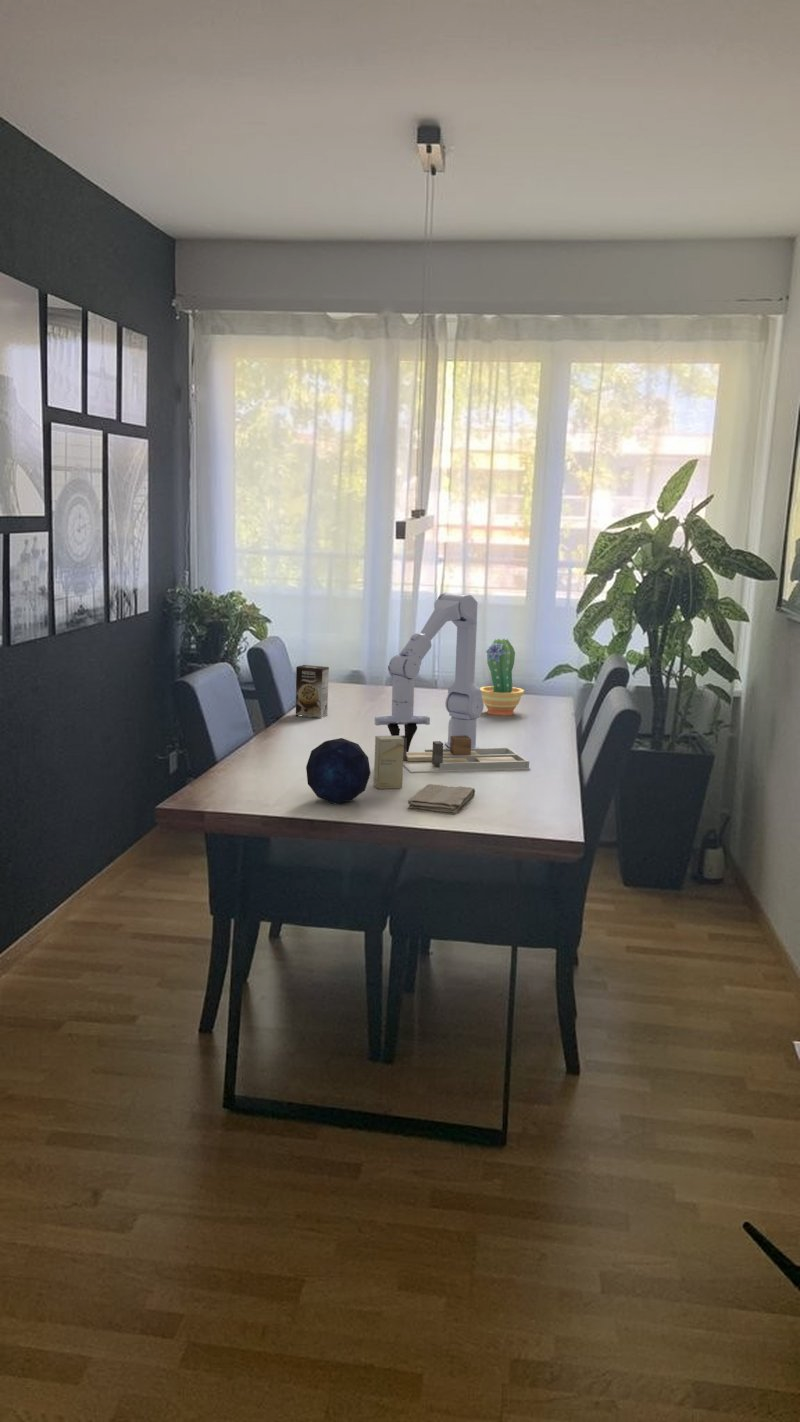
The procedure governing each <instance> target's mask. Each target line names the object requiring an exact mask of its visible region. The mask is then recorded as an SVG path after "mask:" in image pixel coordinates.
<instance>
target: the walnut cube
mask: <svg viewBox="0 0 800 1422" xmlns="http://www.w3.org/2000/svg"><path fill="white" fill-rule="evenodd" d="M449 749H450V753H452V754H453V755H471V738H469V737H468V736H467V735H464V736H451V737H450V748H449Z"/></svg>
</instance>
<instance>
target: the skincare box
mask: <svg viewBox="0 0 800 1422" xmlns="http://www.w3.org/2000/svg"><path fill="white" fill-rule="evenodd" d="M374 738H375V739H374V765H373V766H374V767H373V785H374V786H375V788H377V789H379V790H384V789H385V790H386V789H387V790H388V789H389V790H390V789H392V790H393V789H402V788H403V774H404V772H403V771H404V769H403V768H404V765H403V752H404V738H402V737H401V735H399V736H391V735H375V737H374Z"/></svg>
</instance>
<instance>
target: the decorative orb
mask: <svg viewBox="0 0 800 1422" xmlns="http://www.w3.org/2000/svg"><path fill="white" fill-rule="evenodd" d="M369 761H370V760H369V757H368V755H367V754H366V753H365V751H364V750H363V749H362V747H361V746H360V744H359V743H357V742H353V741H351V740H348V739H345V738H343V737H340V738H335V739H334V738H333V739H330V740H325V741H323V742H322V743H320V744H319V745H318V746H316V747H315V748H313V749H312V750H311V751H310V753H309V758H308V760H307V762H306V766H305V769H306V778H307V779H306V780H307V785H308V787H309V788H310V789H311V790H312V791H313V793H314V794H315V795H316V796H317V798H318V799H322V801H323V800H324V801H326V802H329V803H332V804H334V803H336V804H340V803H346V802H350V801H353V800H355V798H357V797H358V796H359V795H361V794H362V793H364V792H365V791H366V788H367V785H368V782H369V779H370V776H371V766H370V762H369Z"/></svg>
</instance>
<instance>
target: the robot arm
mask: <svg viewBox="0 0 800 1422" xmlns="http://www.w3.org/2000/svg"><path fill="white" fill-rule="evenodd" d="M433 605H434V606H433V607H434V610H433V611H432V613H431V615H430V616H429V618H428V619H427V621H426V623H425V624H424V625H423V626H424V627H423V628H422V630H420V632H418V633H414V634H413V635H411V637H410V639H409V641H408V642H407V643H406V644H405V646H404V648H402V650H401V651H400V652H399V654H396V655H394V656H393V657H392V658H391V659H390V660H389V665H387V671H388V674H389V675H390V681H391V683H392V685H391V686H392V687H391V688H392V689H391V690H392V691H391V715H387V716H375V717H374V725H375V726H376V727H377V726H385V725H386V726H387V728H388V731H389V734H390V736H400V732H401V728H400V726H401V725H402V726H403V725H404V726H403V727H404V728H403V729H404V736H406V737H407V752H410V751H409V749H410V746H411V744H412V741H413V738H414V736H415V734H416V732H417V730H418V725H428V726H429V725H430V723H431V717H430V716H428V715H414V704H415V702H414V700H415V699H414V698H415V697H414V696H415V678H416V677H417V676H418V675H419V673H420V669H421V665H422V662H423V660H424V659H425V657H426V655H427V653H429V651H430V650H431V648H432V640H433V639H434V637H435V636H436V635H437V634H438V633H439V631H441V629H442V628H443V627H444V625H445V624H447V622H451V623H453V624H454V626H456V648H455V651H456V652H455V674H454V676H455V677H454V683H452V685H450V686H449V687H448V689H447V696H446V700H445V709H446V711H447V712H448V715H449V716H450V719H449V721H448V730H447V731H448V733H447V734H448V735H447V736H448V737H447V741H445V742H444V745H446V746H447V747H449V748H448V749H450V737H451V736H464V735H467V736H468V737H469V738H471V748H480V747H479V746H478V745H476V743H477V726H478V725H477V724H478V723H477V719H479V718H480V715H481V714H482V713H483V711H484V706H485V704H484V702H483V699H482V691H481V689H480V688H481V687H479V686H478V685H477V684H476V683H475V679H476V677H475V674H476V673H475V671H476V654H477V653H476V650H477V649H476V648H477V631H478V630H477V627H478V621H477V619H478V601H477V600H476V599H475V598H474V596H472V595H471V594H460V593H459V594H458V593H448V592H442V593H441V594H439V596H438V597H437V599H436V600H435V601H434V604H433ZM399 725H400V726H399Z"/></svg>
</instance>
